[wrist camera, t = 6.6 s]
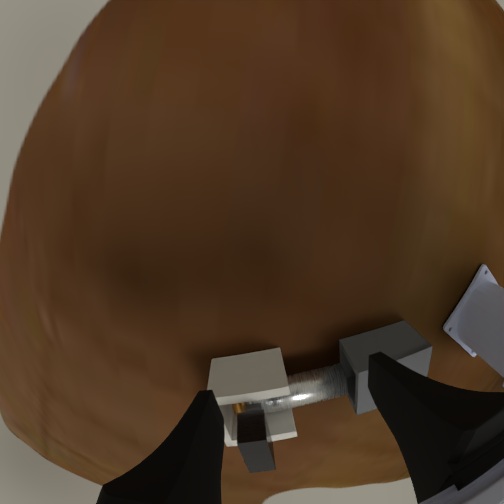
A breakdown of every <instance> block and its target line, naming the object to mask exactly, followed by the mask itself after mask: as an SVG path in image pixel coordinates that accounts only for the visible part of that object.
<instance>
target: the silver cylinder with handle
mask: <svg viewBox="0 0 504 504" xmlns="http://www.w3.org/2000/svg"><path fill="white" fill-rule="evenodd" d="M287 380H288V385H289V390H290V394H289V395H284V396H279V397H274V398H268V399H262V400H256V401H249V402H242V403H235V404H232V408H233V411H234V414H235V416H236V417H237V445H238V447H239V450H240V452H241V454H242V456H243V459H244V461H245V463H246V465H247V467H248V470H249V472H250V473H253V472H261V471H269V470H276V467H275V459H274V450H273V442H272V438H271V435H270V431H269V427H268V423H267V420H266V416H265V413H268V412H274V411H280V410H285V409H290V408H295V407H300V406H304V405H309V404H313V403H317V402H321V401H325V400H329V399H333V398H337V397H340V396H344V395H347V391H348V387H347V380H346V375H345V372H344V369H343V367H342V365H341V364H340V363H338V364H334V365H331V366H327V367H323V368H319V369H314V370H310V371H306V372H301V373H297V374H292V375H287Z"/></svg>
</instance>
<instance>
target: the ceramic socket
mask: <svg viewBox="0 0 504 504" xmlns="http://www.w3.org/2000/svg"><path fill="white" fill-rule="evenodd" d="M207 390H212V391H213V393H214V395H215V398H216V400H217V403H218V405H219V408H220V410H221V412H222V415H223V417H224V429H225V439H224V441H225V444H226V446H227V447H228V446H238V445H237V417H236V416H235V414H234V411H233V408H232V404H235V403H242V402H249V401H256V400H262V399H268V398H274V397H279V396H284V395H289V394H290V390H289V385H288V380H287V376H286V372H285V367H284V363H283V358H282V354H281V350H280V347H279V348H274V349H269V350H263V351H258V352H252V353H246V354H240V355H234V356H227V357H221V358H213V359H212V360H211V366H210V373H209V379H208V386H207ZM265 416H266V420H267V423H268V427H269V431H270V435H271V438H272V441H276V440H282V439H287V438H292V437H297V433H296V427H295V423H294V418H293V413H292V409H291V408H290V409H285V410H280V411H274V412H268V413H265Z"/></svg>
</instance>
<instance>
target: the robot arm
mask: <svg viewBox="0 0 504 504" xmlns="http://www.w3.org/2000/svg"><path fill="white" fill-rule="evenodd" d="M443 330H444V331H445V332H446V333H447V334H449V335H450V336H451V337H452V338H453V339H454V340H455V341H456V342H457V343H458V344H460V345H461V346H462V347H463V348H464V349H465V350H466V351H467V352H468V353H469V354H470V355H471V356H472V357H475V356H476V355H479V356H480V357H481V358H482V359H483V360H484V361H485V362H487V363H488V364H489V365H490V366H491V367H492V368H493V369H495V370H496V371H497V372H498V373H499V374H500V375H501V376H502V377H503V378H504V288H503V287H501V286H499V285H498V283H497V282H496V280H495V279H494V277H493V275H492V274H491V272H490V271H489V269H488V268H487V266H486V265H484V264H482V265H481V267H480V268H479V270H478V272H477V274H476V275H475V277H474V279H473V281H472V282H471V284H470V286H469V287H468V289H467V291H466V292H465V294H464V296H463V297H462V299H461V300H460V302H459V303H458V305H457V306H456V308H455V309H454V311H453V312H452V314H451V315H450V317H449V318H448V320H447V321H446V323H445V324H444V326H443ZM502 386H503V387H504V383H503V385H502ZM368 389H369V391H370V394H371V396H372V398H373V401H374V403H375V405H376V407H377V408H378V410H379V412H380V413H381V415H382V417H383V418H384V420H385V422H386V423H387V425H388V427H389V428H390V430H391V432H392V433H393V435H394V437H395V439H396V441H397V443H398V445H399V448H400V450H401V452H402V455H403V457H404V460H405V463H406V465H407V468H408V471H409V474H410V477H411V480H412V483H413V487H414V491H415V494H416V498H417V503H418V504H502V503H504V392H479V391H471V390H466V389H461V388H457V387H453V386H449V385H446V384H443V383H440V382H437V381H435V380H432V379H430V378H428V377H426V376H423V375H421V374H419V373H417V372H415V371H413V370H411V369H410V368H408V367H406V366H404V365H402V364H401V363H399V362H397V361H396V360H394V359H392V358H391V357H389V356H387V355H386V354H384V353H382V352H381V351H380V352H377V353H374V354H371V355H369V362H368ZM224 439H225V429H224V417H223V415H222V412H221V410H220V408H219V405H218V403H217V400H216V398H215V395H214V393H213V391H212V390H204V391H199V392H198V393H197V395H196V397H195V398H194V400H193V401H192V403H191V405H190V406H189V408H188V409H187V411H186V413H185V414H184V415H183V417H182V418H181V420H180V421H179V423H178V424H177V426H176V427H175V428H174V429H173V431H172V432H171V433H170V434H169V436H168V437H167V438H166V439H165V440H164V442H163V443H162V444H161V445H160V446H159V447H158V448H157V449H156V450H155V451H154V452H153V453H152V454H150V455H149V456H148V457H147V458H146V459H144V460H143V461H142V462H141V463H140V464H138V465H137V466H135V467H134V468H133V469H131V470H130V471H128V472H126V473H125V474H123V475H122V476H120V477H118V478H116V479H114V480H112V481H110V482H108V483H106V484H104V485H103V487H102V489H101V492H100V494H99V497H98V500H97V503H96V504H221V469H222V459H223V449H224Z"/></svg>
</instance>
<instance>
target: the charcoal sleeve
mask: <svg viewBox="0 0 504 504" xmlns="http://www.w3.org/2000/svg"><path fill="white" fill-rule="evenodd" d="M432 347H433V346H432V345H431V344H430V343H429V342H428V341H427V340H426V339H425V338H424V337H423V336H421V335H420V334H419V333H418V332H417V331H416V330H415V329H414V328H413V327H412V326H411V325H410V324H409V323H407V322H406V321H405V320H403V321H400V322H397V323H394V324H391V325H388V326H385V327H382V328H378V329H375V330H372V331H368V332H365V333H361V334H358V335H354V336H351V337H347V338H343V339H340V340H339V348H340V364H341V365H342V367H343V369H344V372H345V375H346V380H347V387H348V391H347V395H348V398H349V400H350V402H351V404H352V406H353V408H354V410H355V413H356V415H358V414H362V413H365V412H368V411H371V410H374V409H376V408H377V407H376V405H375V403H374V401H373V398H372V396H371V394H370V391H369V389H368V362H369V355H371V354H374V353H377V352H380V351H381V352H382V353H384V354H386V355H387V356H389V357H391V358H392V359H394V360H396V361H397V362H399V363H401V364H402V365H404V366H406V367H408V368H410V369H411V370H413V371H415V372H417V373H419V374H421V375H423V376H426V377H427V374H428V369H429V364H430V358H431V353H432Z"/></svg>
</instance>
